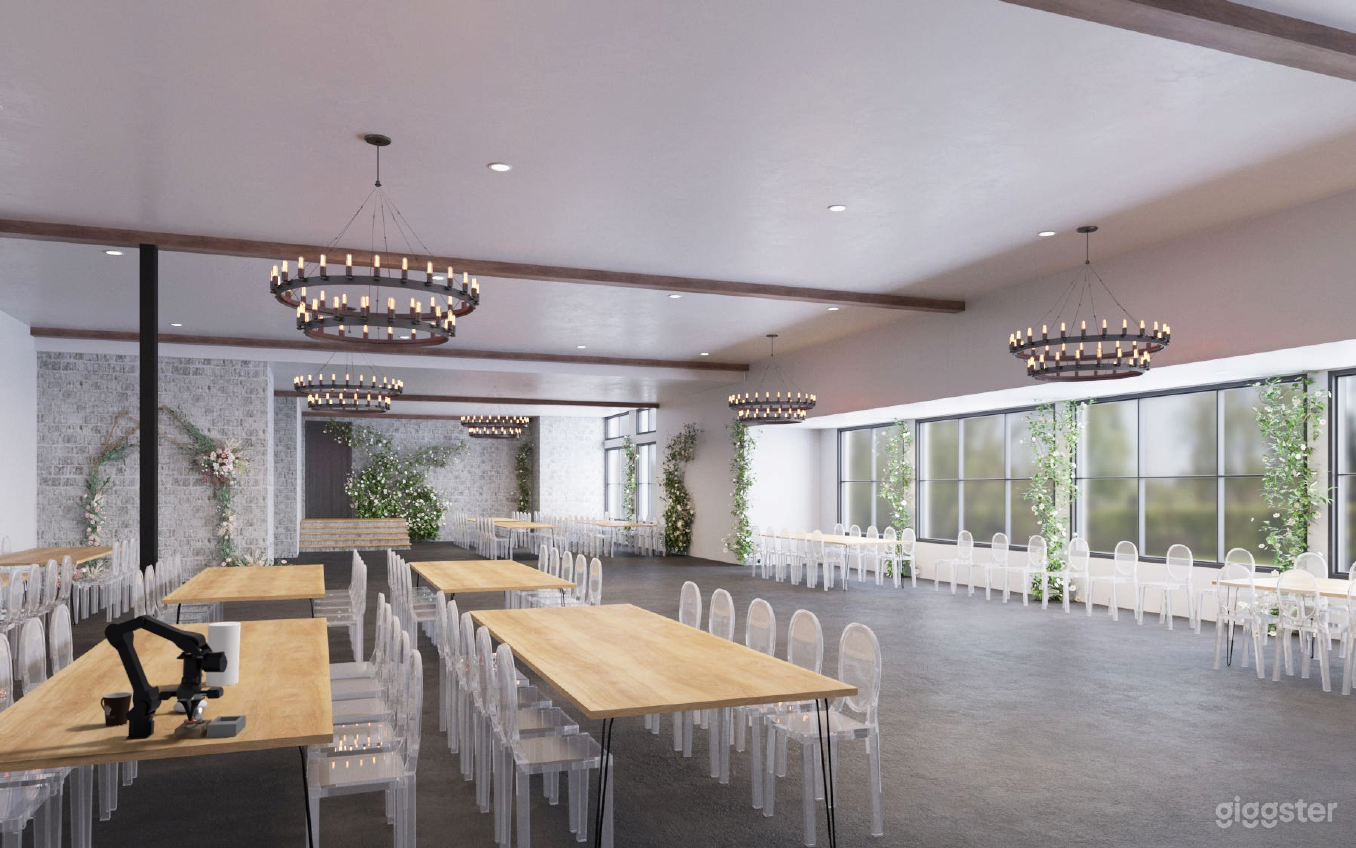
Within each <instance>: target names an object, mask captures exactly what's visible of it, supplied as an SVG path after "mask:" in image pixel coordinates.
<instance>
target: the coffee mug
mask: <svg viewBox="0 0 1356 848" xmlns="http://www.w3.org/2000/svg"><path fill="white" fill-rule="evenodd" d="M132 698H133V692H126V691H125V692H121V691H120V692H113V693H107V694H105V695H103V697H101V699H100V706H101V708H102V709H103V710H104V711H103V712H104V721H105V726H106V727H119V725H120V726H124V725H123V724H125V725H126V724H128V720H127V718H126V713H127V712H128V711H130V708H131V707H130V706H131V702H132Z"/></svg>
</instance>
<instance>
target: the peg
mask: <svg viewBox="0 0 1356 848" xmlns="http://www.w3.org/2000/svg"><path fill="white" fill-rule="evenodd" d="M203 713H204V709H203V707H201V706H198V707H197V709H196V711H195V714H194V716H193V718H195V719H197V722H195V725H197V724H202V720H203Z"/></svg>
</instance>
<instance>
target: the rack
mask: <svg viewBox="0 0 1356 848" xmlns="http://www.w3.org/2000/svg"><path fill="white" fill-rule="evenodd" d="M246 722H247V715H244V714H243V715H222V716H221V715H219V716H216V718H214V719H212V722H210V723H209V724H208V725H207V732H206V738H220V737H221V738H222V737H223V738H224V737H237V736H238V735H239V734H240V733H241V732H242V731H243V730H244V729H245V728H246V727H247V725H246V724H247V723H246ZM245 726H246V727H245ZM244 727H245V728H244ZM243 728H244V729H243ZM242 729H243V730H242ZM241 730H242V731H241ZM240 731H241V732H240ZM239 732H240V733H239ZM238 733H239V734H238ZM237 734H238V735H237Z"/></svg>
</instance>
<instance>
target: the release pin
mask: <svg viewBox="0 0 1356 848" xmlns="http://www.w3.org/2000/svg"><path fill="white" fill-rule="evenodd" d="M195 722H197V719H195V718H192V720H188V718H187V719H186V718H185V719H184V720H183V723H186V726H185V728H195Z"/></svg>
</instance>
